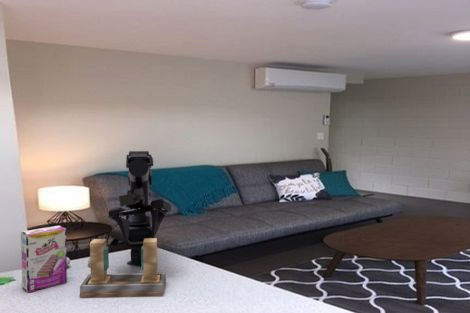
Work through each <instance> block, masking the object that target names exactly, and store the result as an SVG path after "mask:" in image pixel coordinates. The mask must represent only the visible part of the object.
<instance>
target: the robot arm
mask: <svg viewBox="0 0 470 313" xmlns="http://www.w3.org/2000/svg"><path fill="white" fill-rule="evenodd" d="M125 161H126V163H125V166H126V169H128V176H127V177H128V178H127V180H128V186H129V190H127V192H126V194H123V195H119V196H118V201H119V202H118V203H119V206H120V207H115V208H111V209H109V211H108V212H107V218H108V219H110V220H112V221H113V222H115V223H116V224H117V225H118V226H119V229H120V232H121V234H122V237H123V239H124V241H125V242H126V247H128V248H129V247H130V260H129V261H126V264H127V265H133V266H140V267H141V248H142V246H143V242H144V238H156V235H157V233H158V230H159V228H160V225H161V224H162V222H163V220H164V218H165V216H167V215H168V213H171V212H172V206H171V203H170V202H169V201H167V200H166V199H164V198H158V199H154V200H151V202H150V197H151V196H152V194H151V190H150V187H151V186H152V183H153V182H152V169H151V168H152V167H154V158H153V157H152V154H150V152H149V151H148V150H138V151H136V150H130V151H129V152H128V154H126V160H125ZM124 206H125V208H127V209H125V208H122V207H124ZM149 212H150V215H151V217H150V216H149V215H147V213H149Z"/></svg>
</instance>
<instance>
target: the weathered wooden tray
mask: <svg viewBox="0 0 470 313" xmlns="http://www.w3.org/2000/svg"><path fill="white" fill-rule="evenodd" d="M91 241H92V242H91ZM91 241H90V242H91V243H89V244H90V245H89V258H90V267H89V268H90V273H88V275H87V276H86V277H85V279H84V280H83V282H82V283H81V284H80V285H79V299H91V298H93V299H96V298H100V299H101V298H134V297H135V298H140V297H141V298H144V297H145V298H146V297H148V298H149V297H163V296H164V292H165V288H166V283H167V278H166V277H167V273H166V272H157V275H160V283H157V284H141V279H142V276H144V272H141V273H140V272H139V273H137V272H136V273H131V272H130V273H108V269H109V267H110V264H109V262H110V261H109V260H110V258H109V256H110V255H109V254H110V253H109V246H107V238H94V239H92V240H91Z"/></svg>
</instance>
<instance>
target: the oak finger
mask: <svg viewBox="0 0 470 313" xmlns="http://www.w3.org/2000/svg"><path fill="white" fill-rule="evenodd" d="M140 267H141V268H140V269H141V271H143V273H144V276H142V279H141V284H157V283H160V275H157V273H158V238H157V237H155V238H144V242H143V246H142V248H141V266H140Z"/></svg>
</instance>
